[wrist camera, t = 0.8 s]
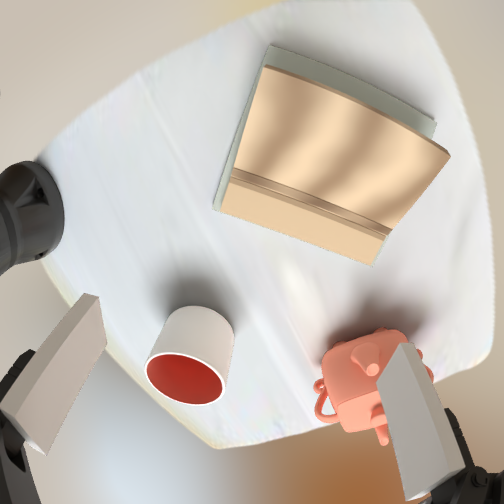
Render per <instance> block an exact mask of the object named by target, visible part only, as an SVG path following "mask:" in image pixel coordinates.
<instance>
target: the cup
mask: <svg viewBox="0 0 504 504" xmlns="http://www.w3.org/2000/svg"><path fill="white" fill-rule="evenodd" d="M233 347H234V333H233V330H232V328H231V326H230V324H229V323H228V321H227V320H226V319H225V318H224V317H223V316H221V315H220V314H219V313H217V312H215V311H214V310H211V309H209V308H206V307H202V306H186V307H182V308H179V309H177V310H176V311H174V312H173V313H172V314H171V315H170V316H169V317H168V319H167V320H166V322H165V324H164V326H163V328H162V330H161V332H160V334H159V336H158V338H157V340H156V342H155V344H154V346H153V348H152V351H151V353H150V355H149V357H148V359H147V361H146V363H145V374H146V377H147V379H148V381H149V382H150V384H151V385H152V386H153V387H154V388H155V389H156V390H157V391H158V392H160V393H161V394H163V395H164V396H166V397H168V398H170V399H172V400H174V401H177V402H180V403H183V404H188V405H207V404H211V403H213V402H216V401H217V400H219V399H220V398H221V397H222V396H223V394H224V392H225V388H226V383H227V378H228V373H229V367H230V362H231V357H232V352H233Z"/></svg>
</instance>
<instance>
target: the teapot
mask: <svg viewBox="0 0 504 504" xmlns="http://www.w3.org/2000/svg"><path fill="white" fill-rule="evenodd" d="M399 343H409V342H408V340H407V338H406V336H405V335H404V334H403V333H401V332H400V331H398V330H396V329H391V330H387V329H386V328H378V329H376V330H375V331H374V332H373V334H369V335H366V336H362V337H359V338H356V339H354V340H351V341H349V342H346V341H339V342H337V343H335V344H334V345H333V347H332V349H330V350H329V351H327V352H326V353H325V354H324V357H323V359H322V365H321V368H322V374H323V378H322V379H319V380H317V381H316V382H315V383H314V391H315V392H316V393H318V394H320V395H319V398H318V400H317V402H316V405H315V415H316V417H317V418H318V419H319V420H320V421H322V422H325V423H335V422H338V421H340V423H341V424H342V426H343V428H344V430H345V431H346V432H356V431H361V430H365V429H369V428H373V427H374V428H375V430H376V432H377V435H378V438H379V441H380V444H381V445H382V446H385V445H387V444H388V442H389V437H388V429H387V428H388V423H387V419H386V416H385V412H384V409H383V405H382V402H381V398H380V395H379V392H378V388H377V385H376V382H377V380H378V378H379V377H380V375H381V374H382V372H383V371H384V369H385V367H386V366H387V364H388V362H389V361H390V359H391V357H392V356H393V354H394V352H395V350H396V349H397V347H398V345H399ZM416 350H417V352H418V354H419V356H420V358H421V360H422V358H423V354H422V352H421V351H420V350H419V349H416ZM424 366H425V368H426V370H427V372H428V374H429V377H430V379H431V381H432V383H433V380H434V376H433V373H432V371H431V370H430V369H429V368H428V367H427V366H426V365H424ZM322 386H324V387H323V388H320V387H322ZM327 396H329V399H330V401H331V404H332V406H333V408H334V410H335V413H336V414H333V415H324V414H322V413H321V411H322V407H323V404H324V402H325V400H326V398H327Z"/></svg>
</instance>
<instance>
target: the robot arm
mask: <svg viewBox="0 0 504 504" xmlns="http://www.w3.org/2000/svg"><path fill="white" fill-rule="evenodd" d="M63 229H64V212H63V205H62V201H61V197H60V194H59V191H58V189H57V186H56V184H55V182H54V181H53V179H52V177H51V176H50V175H49V173H48V172H47V171H46V170H45V169H44V168H43V167H42V166H40V165H39V164H37V163H35V162H32V161H23V162H19V163H16V164H14V165H11V166H9V167H8V168H7V169H5V170H4V171H3V172H2V173H1V174H0V276H1V275H2V274H3V273H4V272H5V271H7V270H8V269H9V268H11V267H12V266H13V265H16V264H21V263H25V262H29V261H34V260H38V259H41V258H43V257H45V256H46V255H48V254H49V253H50V252H52V251H53V250H54V249H55V248H56V247H57V246H58V244H59V242H60V240H61V238H62V234H63ZM106 345H107V339H106V334H105V329H104V324H103V319H102V313H101V308H100V302H99V297H97V296H94V295H90V294H86V293H84V294H83V295H82V296H81V297H80V299H79V300H78V301H77V302H76V303H75V304H74V306H73V307H72V308H71V309H70V310H69V312H68V313H67V314H66V315H65V316H64V318H63V319H62V320H61V321H60V322H59V324H58V325H57V326H56V327H55V329H54V330H53V331H52V332H51V334H50V335H49V336H48V338H47V339H46V340H45V341H44V343H43V344H42V345H41V346H40V348H39V349H38V351H37V352H35V351H33V350H31V349H29V350H28V351H26V352H25V353H23V354H22V355H20V356H19V358H18V359H17V360H16V361H15V363H14V364H13V367H11V368H10V369H9V371H8V374H6V375H5V376H4V378H3V379H2V381H1V382H0V504H41V501H40V499H39V496H38V493H37V490H36V487H35V484H34V481H33V477H32V474H31V471H30V467H29V463H28V460H27V456H26V451H25V448H24V446H23V443H24V441H26V442H27V443H28V444H29V445H30V446H31V447H32V448H34V449H36V450H37V451H39V452H41V453H43V454H45V455H46V456H47V455H48V452H49V450H50V448H51V446H52V444H53V442H54V440H55V438H56V436H57V434H58V432H59V430H60V428H61V426H62V424H63V422H64V420H65V418H66V416H67V414H68V412H69V410H70V409H71V407H72V405H73V403H74V401H75V399H76V397H77V396H78V394H79V392H80V390H81V388H82V386H83V385H84V383H85V381H86V379H87V377H88V376H89V374H90V372H91V370H92V369H93V367H94V365H95V363H96V362H97V360H98V358H99V357H100V355H101V353H102V351H103V350H104V348H105V347H106ZM376 385H377V388H378V392H379V395H380V398H381V402H382V405H383V409H384V412H385V416H386V419H387V423H388V427H389V430H390V434H391V438H392V442H393V446H394V450H395V454H396V458H397V462H398V466H399V471H400V475H401V480H402V484H403V489H404V494H405V499H406V501H408V500H413V499H416V498H420V497H422V496H424V495H426V494H427V493H429V492H431V496H430V497H428V498H427V499H425V500H424V501H422V502H420V503H419V504H504V470H503V471H502V472H500V473H487V472H486V470H485V469H483V468H482V467H479V466H475V465H474V463H473V460H472V457H471V454H470V452H469V449H468V446H467V444H466V441H465V438H464V436H462V435H463V433H462V431H461V429H460V428H459V423H458V421H457V419H456V416H455V415H454V414H453V413H452V412H451V411H450V409H449V408H445V409H444V408H443V406H442V404H441V401H440V399H439V397H438V394H437V392H436V390H435V388H434V385H433V383H432V381H431V379H430V377H429V374H428V372H427V370H426V368H425V366H424V364H423V362H422V360H421V358H420V356H419V354H418V352H417V350H416V348H415V346H414V344H413V343H399V345H398V347H397V349H396V350H395V352H394V354H393V356H392V357H391V359H390V361H389V362H388V364H387V366H386V367H385V369H384V371H383V372H382V374H381V375H380V377H379V378H378V380H377V382H376Z"/></svg>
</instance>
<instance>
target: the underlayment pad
mask: <svg viewBox="0 0 504 504" xmlns="http://www.w3.org/2000/svg"><path fill="white" fill-rule="evenodd" d="M266 64H268V65H271V66H274V67H277V68H280V69H283V70H286V71H289V72H292V73H295V74H298V75H301V76H303V77H306V78H309V79H311V80H314V81H316V82H319V83H321V84H324V85H326V86H329V87H331V88H334V89H336V90H338V91H341V92H343V93H345V94H347V95H349V96H352V97H354V98H356V99H358V100H360V101H362V102H364V103H366V104H368V105H371V106H373V107H375V108H376V109H378V110H380V111H382V112H384V113H386V114H388V115H390V116H392V117H394V118H395V119H397V120H399V121H401V122H403V123H404V124H406V125H408V126H410V127H411V128H413V129H415V130H416V131H418V132H420V133H421V134H423V135H425V136H426V137H428V138H429V139H432V137H433V134H434V131H435V128H436V126H437V123H436V122H435V121H433V120H432V119H430V118H429V117H427V116H425V115H424V114H422V113H421V112H419V111H417V110H416V109H414V108H412V107H411V106H409V105H407V104H406V103H404V102H402V101H400V100H399V99H397V98H395V97H393V96H391V95H389V94H388V93H386V92H384V91H382V90H380V89H378V88H376V87H374V86H372V85H370V84H368V83H366V82H364V81H362V80H360V79H358V78H356V77H353V76H351V75H349V74H347V73H344V72H342V71H340V70H338V69H335V68H333V67H330V66H328V65H325V64H323V63H320V62H318V61H315V60H313V59H310V58H307V57H305V56H302V55H299V54H296V53H293V52H290V51H287V50H284V49H281V48H278V47H275V46H271V45H269V46H268V49H267V51H266V54H265V56H264V59H263V62H262V64H261V67H260V69H259V72H258V75H257V77H256V80H255V83H254V85H253V88H252V91H251V93H250V96H249V99H248V102H247V105H246V107H245V110H244V113H243V116H242V119H241V121H240V124H239V127H238V130H237V133H236V136H235V139H234V142H233V145H232V148H231V151H230V154H229V157H228V160H227V163H226V166H225V169H224V172H223V175H222V178H221V181H220V185H219V188H218V191H217V194H216V197H215V201H214V204H213V207H212V209H213V210H215V211H218V212H221V213H224V214H227V215H230V216H233V217H236V218H239V219H242V220H245V221H248V222H250V223H253V224H256V225H259V226H262V227H265V228H268V229H270V230H273V231H276V232H279V233H282V234H284V235H287V236H290V237H293V238H296V239H298V240H301V241H304V242H307V243H309V244H312V245H315V246H318V247H320V248H323V249H326V250H328V251H331V252H334V253H337V254H339V255H342V256H345V257H347V258H350V259H353V260H355V261H358V262H360V263H363V264H366V265H368V266H371V267H373V265H374V264H375V262H376V260H377V258H378V256H379V254H380V252H381V251H382V249H383V247H384V245H385V243H386V241H387V239H388V237H389V235H390V233H391V232H390V233H389V234H388V236H385V235H383V234H381V233H378V232H376V231H374V230H371V229H369V228H367V227H364V226H362V225H360V224H357V223H355V222H352V221H350V220H347V219H345V218H343V217H340V216H338V215H335V214H333V213H330V212H328V211H325V210H323V209H320V208H317V207H315V206H312V205H310V204H307V203H305V202H302V201H299V200H297V199H294V198H291V197H289V196H286V195H283V194H280V193H278V192H275V191H272V190H269V189H267V188H264V187H261V186H258V185H255V184H252V183H249V182H246V181H244V180H241V179H238V178H235V177H232V176H231V174H232V170H233V167H234V163H235V160H236V156H237V153H238V149H239V146H240V142H241V139H242V135H243V132H244V129H245V125H246V122H247V118H248V115H249V112H250V108H251V105H252V102H253V99H254V95H255V92H256V89H257V86H258V83H259V79H260V76H261V73H262V70H263V67H264V66H265V65H266Z"/></svg>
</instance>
